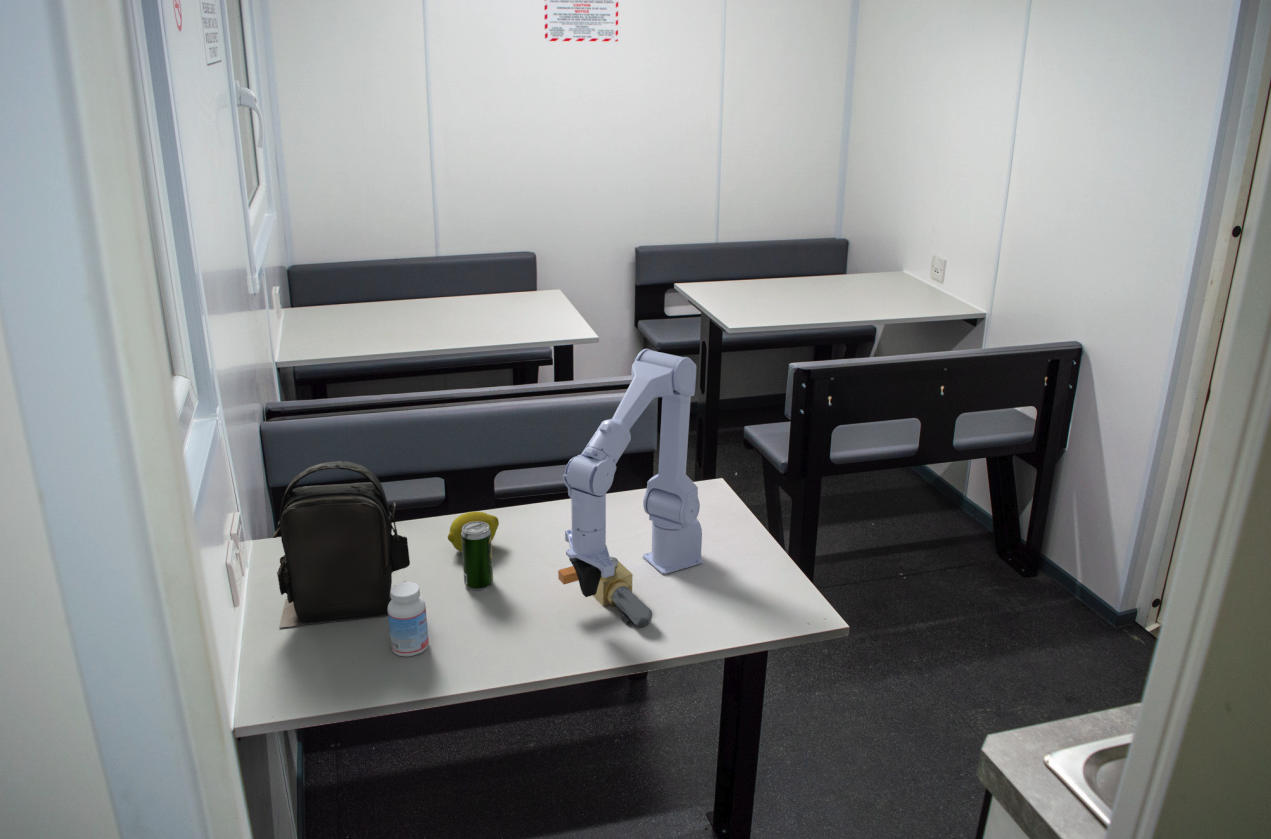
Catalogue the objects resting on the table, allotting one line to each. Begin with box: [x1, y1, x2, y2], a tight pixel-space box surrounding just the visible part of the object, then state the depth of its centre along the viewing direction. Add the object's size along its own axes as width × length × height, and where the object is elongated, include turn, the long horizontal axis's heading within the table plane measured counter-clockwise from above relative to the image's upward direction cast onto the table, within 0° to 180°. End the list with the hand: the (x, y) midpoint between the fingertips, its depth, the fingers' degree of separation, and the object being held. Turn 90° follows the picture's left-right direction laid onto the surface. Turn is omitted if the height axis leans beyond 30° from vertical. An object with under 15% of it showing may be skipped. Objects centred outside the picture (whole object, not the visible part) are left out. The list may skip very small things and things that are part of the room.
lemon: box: [447, 511, 500, 553], centre depth 179 cm, size 11×8×8 cm
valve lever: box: [557, 556, 619, 585], centre depth 161 cm, size 11×3×2 cm, turn 120°
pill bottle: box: [387, 581, 430, 657], centre depth 147 cm, size 6×6×11 cm
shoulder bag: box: [272, 460, 411, 629], centre depth 155 cm, size 23×9×28 cm, turn 103°
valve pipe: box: [592, 560, 654, 628], centre depth 164 cm, size 6×24×5 cm, turn 30°
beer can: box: [461, 521, 494, 592], centre depth 166 cm, size 5×5×12 cm
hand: (589, 594), depth 155 cm, fingers closed
